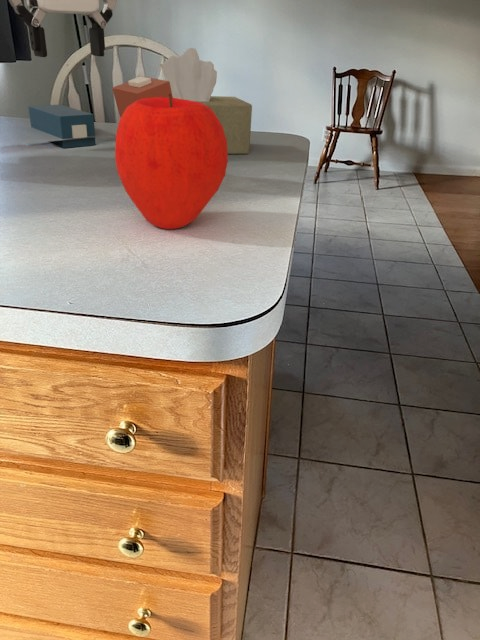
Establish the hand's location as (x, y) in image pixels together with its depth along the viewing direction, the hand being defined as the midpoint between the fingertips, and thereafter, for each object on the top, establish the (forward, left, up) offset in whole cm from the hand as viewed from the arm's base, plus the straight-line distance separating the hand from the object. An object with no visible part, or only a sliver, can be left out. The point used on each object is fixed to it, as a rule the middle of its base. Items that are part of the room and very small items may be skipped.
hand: (70, 56), depth 86 cm
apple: (-10, -41, -14) cm, 45 cm away
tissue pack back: (0, +5, -14) cm, 14 cm away
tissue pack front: (-4, -24, -8) cm, 26 cm away
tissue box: (+16, -11, -14) cm, 24 cm away
